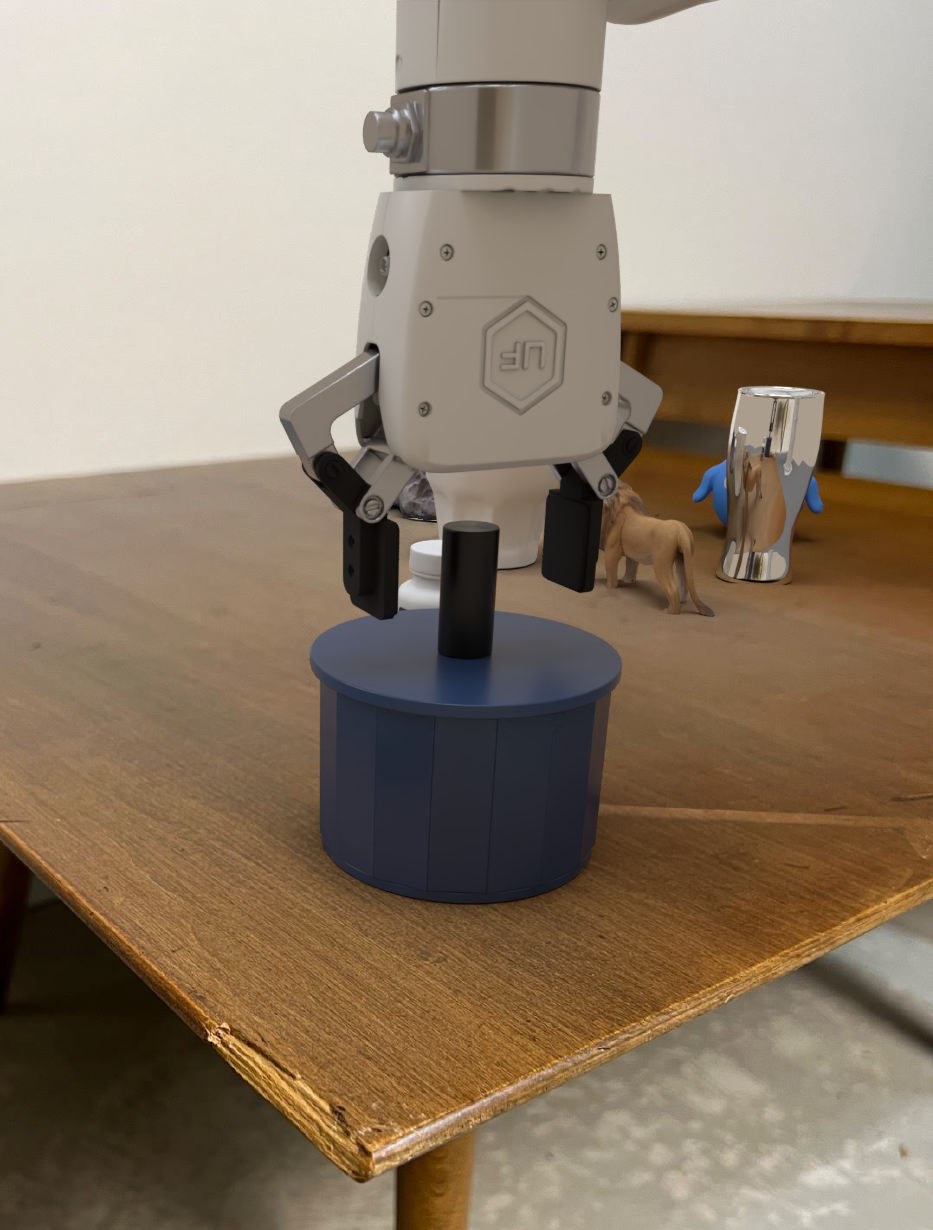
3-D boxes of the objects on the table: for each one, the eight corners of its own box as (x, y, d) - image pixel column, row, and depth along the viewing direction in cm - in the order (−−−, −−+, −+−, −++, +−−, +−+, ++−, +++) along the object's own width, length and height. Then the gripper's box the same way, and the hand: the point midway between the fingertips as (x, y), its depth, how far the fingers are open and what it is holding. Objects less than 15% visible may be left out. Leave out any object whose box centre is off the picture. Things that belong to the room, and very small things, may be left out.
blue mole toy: (672, 544, 113) (684, 451, 109) (697, 520, 122) (708, 434, 119) (808, 559, 108) (824, 462, 105) (822, 532, 118) (838, 443, 114)
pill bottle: (493, 722, 71) (504, 557, 67) (403, 727, 70) (408, 559, 66) (470, 690, 75) (479, 534, 71) (385, 694, 75) (389, 537, 71)
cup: (448, 536, 114) (454, 414, 110) (577, 551, 110) (588, 424, 105) (394, 564, 104) (398, 432, 100) (533, 582, 99) (543, 443, 95)
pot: (578, 787, 62) (593, 627, 59) (606, 911, 51) (628, 721, 47) (333, 776, 63) (335, 618, 60) (307, 896, 52) (307, 709, 48)
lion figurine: (551, 583, 99) (561, 471, 96) (599, 575, 102) (610, 465, 98) (688, 628, 88) (704, 503, 84) (738, 617, 91) (755, 496, 87)
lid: (601, 636, 60) (615, 498, 57) (640, 741, 47) (660, 571, 44) (325, 626, 60) (325, 490, 58) (292, 726, 48) (291, 559, 45)
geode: (505, 522, 121) (498, 419, 116) (390, 539, 120) (379, 436, 116) (464, 476, 139) (457, 386, 134) (364, 491, 138) (354, 401, 134)
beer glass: (783, 592, 97) (815, 398, 91) (698, 579, 101) (724, 391, 95) (806, 575, 103) (837, 390, 97) (724, 563, 106) (750, 383, 100)
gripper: (325, 137, 39) (327, 649, 46) (743, 153, 46) (689, 596, 53) (241, 150, 45) (254, 599, 52) (620, 162, 52) (587, 558, 59)
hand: (473, 597), depth 52 cm, fingers open, 9 cm apart
